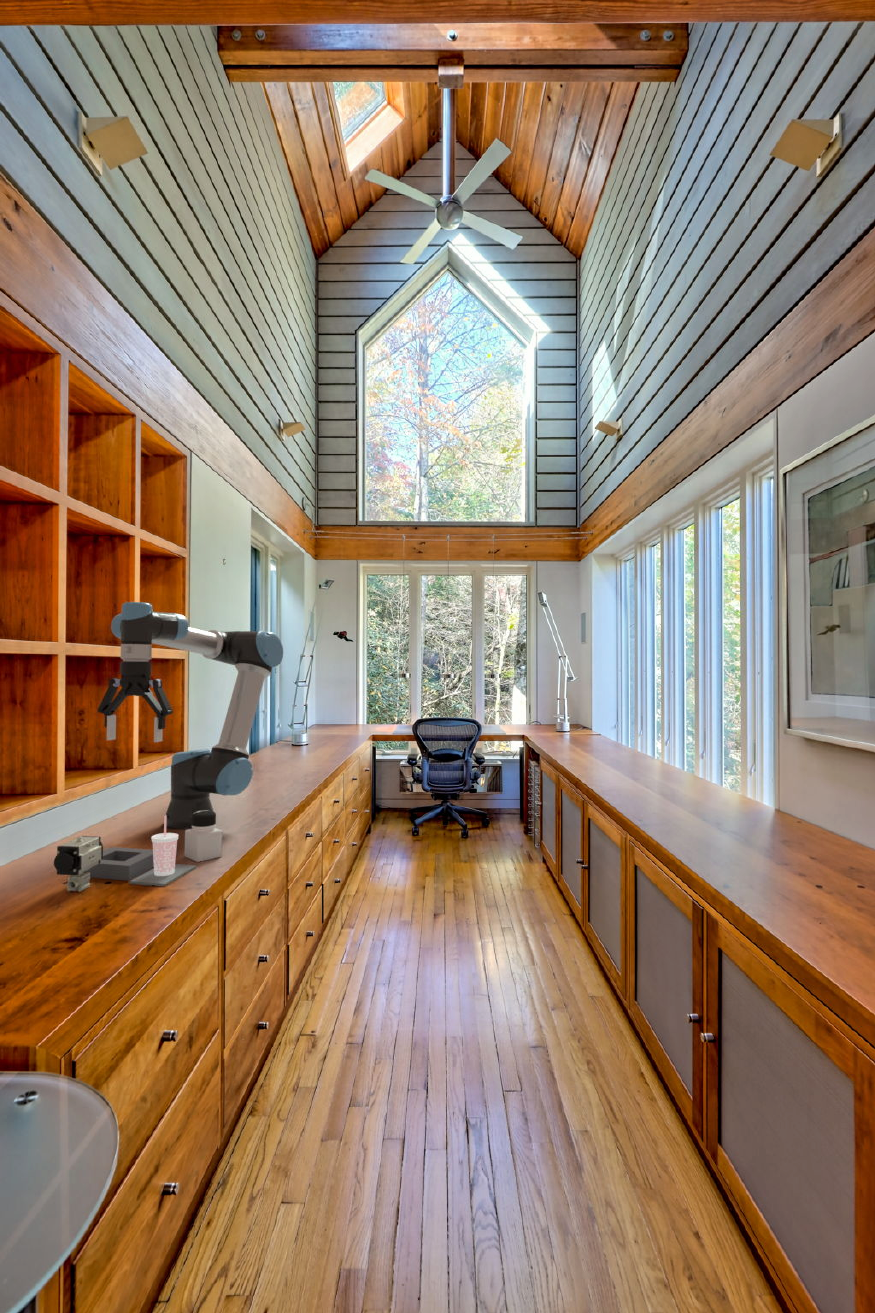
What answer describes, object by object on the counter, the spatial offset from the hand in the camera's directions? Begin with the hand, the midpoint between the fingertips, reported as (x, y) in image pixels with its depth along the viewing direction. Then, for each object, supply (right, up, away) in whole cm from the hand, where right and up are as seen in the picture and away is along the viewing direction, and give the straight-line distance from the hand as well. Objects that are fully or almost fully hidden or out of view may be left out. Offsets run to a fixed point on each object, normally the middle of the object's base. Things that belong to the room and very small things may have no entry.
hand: (134, 740), depth 176 cm
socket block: (+1, -31, -11) cm, 33 cm away
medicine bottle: (+18, -31, +1) cm, 36 cm away
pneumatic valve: (-1, -31, -25) cm, 40 cm away
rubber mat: (+14, -31, -15) cm, 37 cm away
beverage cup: (+14, -31, -14) cm, 37 cm away
